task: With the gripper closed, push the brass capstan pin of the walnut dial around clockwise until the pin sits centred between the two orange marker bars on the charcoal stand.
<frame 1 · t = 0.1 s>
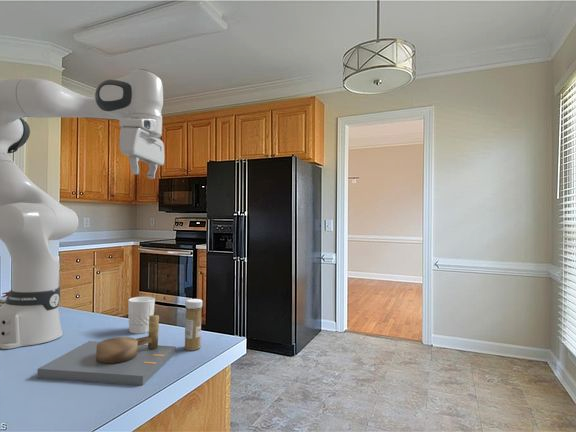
hand: (143, 176, 100), 48 cm above the counter, fingers open, 8 cm apart
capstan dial: (129, 336, 88), point 6 cm above the counter, hinge at 50.0°
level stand: (112, 364, 86), on the counter
white cup: (140, 331, 112), on the counter
sprinkles bottle: (192, 348, 99), on the counter
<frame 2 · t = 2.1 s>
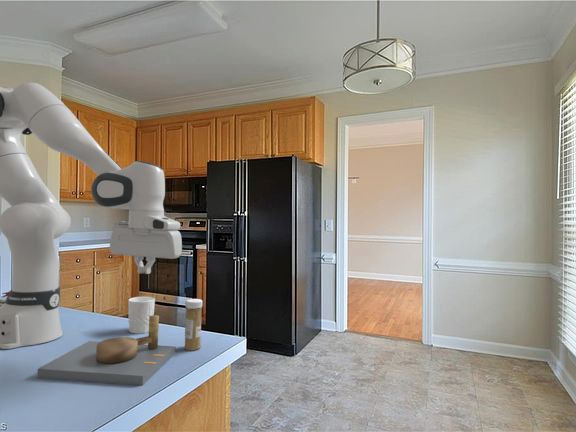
hand: (144, 273, 95), 21 cm above the counter, fingers closed
nothing on the counter moved.
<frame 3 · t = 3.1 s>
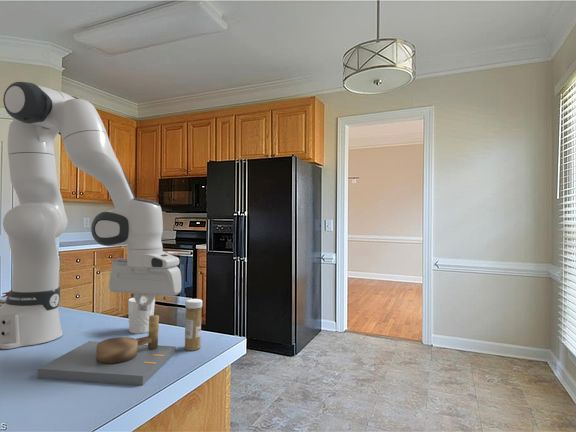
hand: (144, 310, 94), 11 cm above the counter, fingers closed
nothing on the counter moved.
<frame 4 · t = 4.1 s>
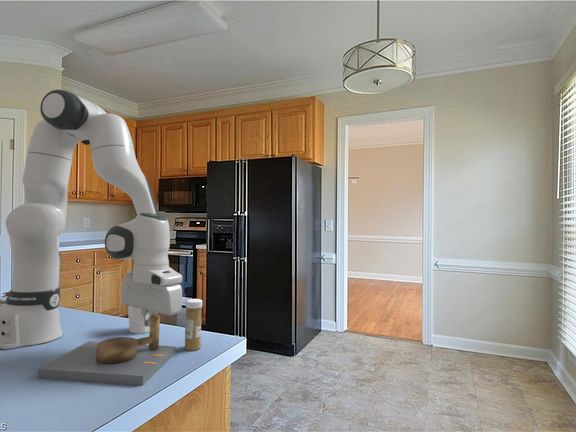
hand: (149, 326, 93), 7 cm above the counter, fingers closed
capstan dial: (129, 336, 88), point 6 cm above the counter, hinge at 46.3°, touching gripper
everything else where it was.
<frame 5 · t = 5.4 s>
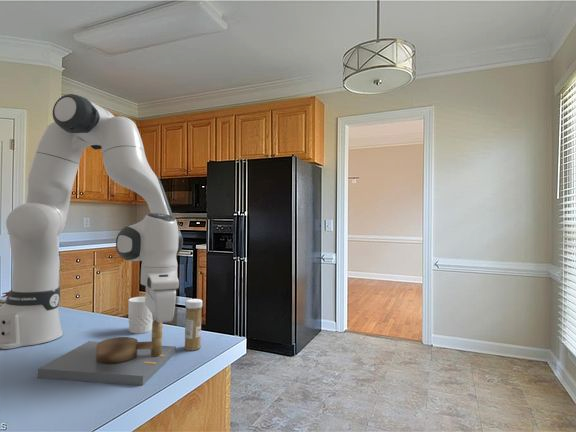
hand: (157, 330, 90), 7 cm above the counter, fingers closed
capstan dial: (130, 338, 86), point 6 cm above the counter, hinge at 16.9°, touching gripper
everything else where it was.
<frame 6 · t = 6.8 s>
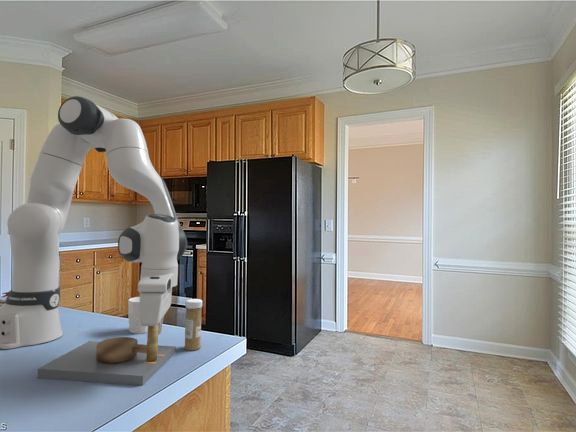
hand: (156, 333, 88), 7 cm above the counter, fingers closed
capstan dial: (128, 340, 85), point 6 cm above the counter, hinge at -3.8°
everything else where it was.
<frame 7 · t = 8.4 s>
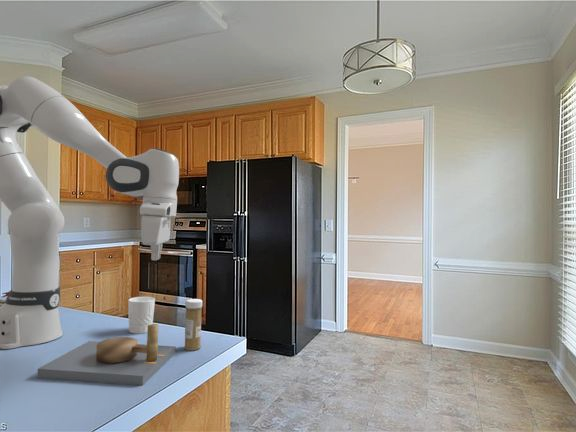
hand: (155, 259, 96), 25 cm above the counter, fingers closed
nothing on the counter moved.
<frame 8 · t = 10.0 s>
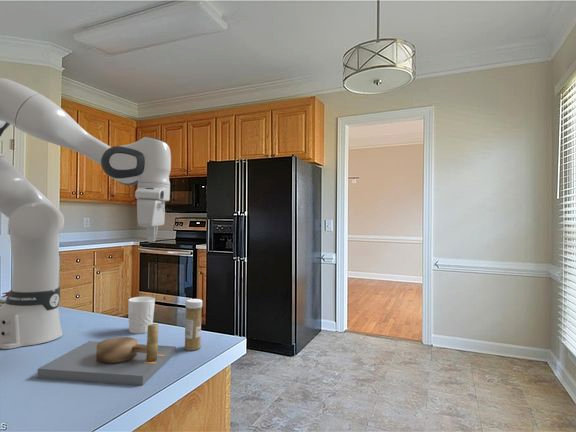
hand: (151, 241, 102), 29 cm above the counter, fingers closed
nothing on the counter moved.
at the end: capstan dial at -4° (first picture: +50°) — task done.
